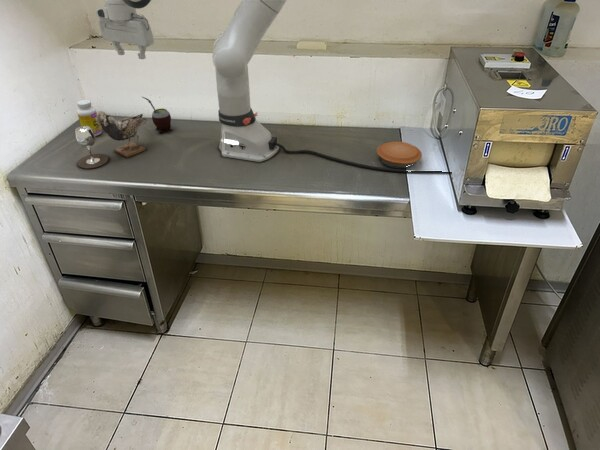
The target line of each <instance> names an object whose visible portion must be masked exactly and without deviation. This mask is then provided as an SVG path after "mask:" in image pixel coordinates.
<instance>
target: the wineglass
mask: <svg viewBox="0 0 600 450" xmlns="http://www.w3.org/2000/svg"><path fill="white" fill-rule="evenodd" d="M74 132H75V139H76V142H77V144H78V145H79V146H80V147H82V148H87V151H88V153H89V155H91V158H90V159H88V160H87V161H86V163H88V164H94V163H97V162H99V161H100V159H99V158H93V156H92V155H93V154H92V148H91V147H92V146H93V145H95V143H96V136H95V135H94V133H93V131H92V130H91V128H90V127H89V126H82V127H81V126H78V127H76V128H75V130H74Z"/></svg>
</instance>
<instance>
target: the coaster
mask: <svg viewBox="0 0 600 450" xmlns="http://www.w3.org/2000/svg"><path fill="white" fill-rule="evenodd" d="M92 156H93V158H99V159H100V161H99V162H97V163H94V164H88V163H86V161H87V160H88V159H90V158H91V155H90V154H89V155H87V156H84V157H81V158H80V159H79V160H78V161H77V166H78V167H79V168H80V169H81V170H93V169H94V170H95V169H98V168H101V167H104V166H105V165H106V164H108V163H109V157H108V156H107V155H106V154H102V153H95V154H92Z"/></svg>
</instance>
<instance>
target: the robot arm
mask: <svg viewBox="0 0 600 450" xmlns="http://www.w3.org/2000/svg"><path fill="white" fill-rule="evenodd" d="M152 1H153V0H104V1H103V2H104V6H103V7H101V8H98V9H96V10H95V15H96V16H97V17H98V18H97V19H98V26H99V31H100V34H101V37H102V38H103V39H104V40H105V41H110V42H111V43H112V45H113V47H114V48H115V50H116V52H117V55H119V56H124V55H125V54H126V53H125V49H124V48H122V47H123V46H121V44H128V45H132V46H137V47H138V50H139V52H138V53H137V56H138V59H139V60H146V51H147V48H148V47H151V46H153V45H154V43H155V38H154V35H153V31H152V27H151V25H150V23H149V19H147V18H146V17H145V16H144V14H138V11H137V10H138V9H144V8H145V7H147V6H148V5H149V4H150V3H151V2H152ZM286 2H287V0H241V1H240V3H239V5H238V6H237V8H236V9H235V10H234V13H233V15H232V17H231V19H230V20H229V23H228V25H227V27H226V28H225V30H223V31H221V32H220V33H219V34H217V36H216V37H215V38H214V41H213V46H212V47H213V48H212V63H213V66H214V68H215V77H216V78H215V79H216V80H215V81H216V93H217V101H218V112H217V113H218V121H219V123H220V137H219V144H218V149H219V150H220V152H221V156H222V157H223V158H230V159H236V160H244V161H249V162H250V161H251V162H257V163H261V162H264V161H267V160H269V159H271V158H272V157H274V156H275V155H276V154H277V153H278V152H279V150H280V149H281V150H282V151H283V152H284V153H286V154H290V155H291V154H311V155H316V156H318V157H320V158H321V157H322V158H325V159H328V160H332V161H335V162H339V163H342V164H346V165H351V166H355V167H359V168H364V169H370V170H376V171H382V172H383V171H384V172H392V173H393V172H394V173H406V174H407V173H408V171H406V170H407V169H405V168H404V169H397V168H392V167H382V166H376V165H375V166H374V165H369V164H364V163H360V162H359V163H358V162H354V161H349V160H346V159H342V158H338V157H335V156H331V155H327V154H324V153H321V152H317V151H315V150H309V149H301V150H288V149H286V148H285V146H284V145H283V144H281V143H279V142H278V137H277V136H273V135H272V133H271V132H270V130H268V129H267V128H266V127H265V126H264V125H262V124H261V123H260V122H259V121H258V119H256V117H257V116H258V112H255V113H254V110H253V109H252V107H251V106H252V105H251V92H250V78H249V66H248V65H249V63H250V61H251V60H252V58H253V56H254V54H255V53H256V51H257V49H258V47H259V45H260V44H261V42H262V39H263V38H264V36H265V35H266V33H267V31H268V30H269V28H270V27H271V26H272V24H273V22H274V21H275V19H276V18H277V17H278V16H279V13H280V12H281V10H282V9H283V7H284V5H285V3H286ZM411 172H412V173H411V174H449V173H448V172H442V171H411Z"/></svg>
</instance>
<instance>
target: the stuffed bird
mask: <svg viewBox="0 0 600 450" xmlns="http://www.w3.org/2000/svg"><path fill="white" fill-rule="evenodd" d="M96 112H97V118H96V120H97V123H98V125H97V127H98V126H101V130H102V131H104V133H106V134H107V136H108V137H109V138H111V139H112V140H114V141H119V142H120V141H126V140H128V142H127V143H125V144H123V145H121V146H119V147H116V148H114V149H113V150H114V152H115V153H117V154H119V155H121V156H123V157H125V158H130V157H132V156H135V155H137V154H140V153H142V152H144V151H146V147H144V146H142V145H140V144H139V143H136V142H134V141H131V142H130V140H131V138H134V137H136V138H137V140H139V137H140V136H139V135H138V130H139V128H140V127H141V126H142V125H145V124H146V122H148V118H144V117H143V116H144V115H143V114H144V112H143V113H140V114H137V115H135V116H129V117H124V118H121V119H119V120H116V119H115V118H114V117H112V115H110V114H109V113H107V112H106V111H103V110H99V111H96ZM97 127H96V128H97ZM96 128H95V129H96ZM95 129H94V130H95Z"/></svg>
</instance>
